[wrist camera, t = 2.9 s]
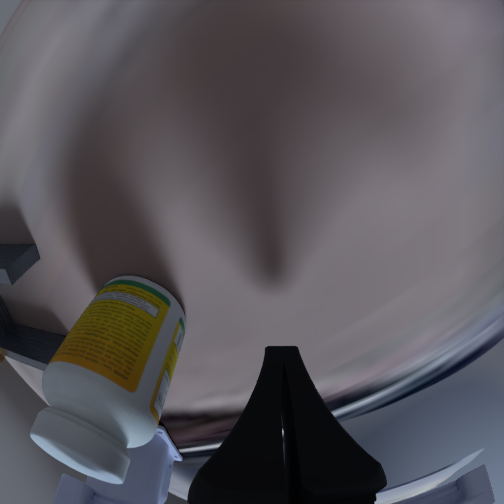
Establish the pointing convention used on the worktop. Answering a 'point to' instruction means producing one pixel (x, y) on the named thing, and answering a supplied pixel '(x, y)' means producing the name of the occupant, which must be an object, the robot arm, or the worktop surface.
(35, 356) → the docking mount
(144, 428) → the supplement bottle
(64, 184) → the worktop surface
